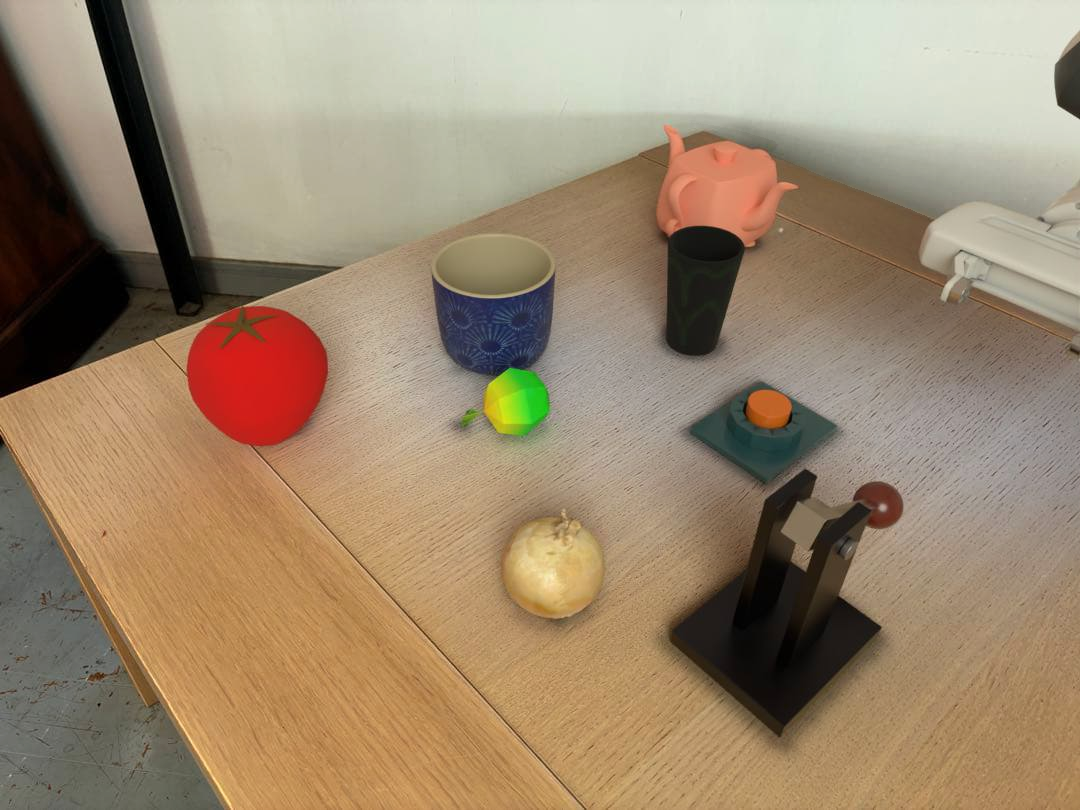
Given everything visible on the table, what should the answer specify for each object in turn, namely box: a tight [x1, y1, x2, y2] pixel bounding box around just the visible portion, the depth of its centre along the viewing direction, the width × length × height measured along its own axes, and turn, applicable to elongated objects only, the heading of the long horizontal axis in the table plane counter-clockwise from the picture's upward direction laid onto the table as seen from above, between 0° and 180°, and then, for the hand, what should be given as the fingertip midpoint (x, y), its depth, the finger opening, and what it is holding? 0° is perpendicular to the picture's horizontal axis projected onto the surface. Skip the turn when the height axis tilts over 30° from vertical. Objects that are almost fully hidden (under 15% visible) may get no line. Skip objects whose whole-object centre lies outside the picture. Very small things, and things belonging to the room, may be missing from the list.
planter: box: [430, 232, 557, 376], centre depth 86 cm, size 12×12×11 cm
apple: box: [460, 368, 551, 437], centre depth 78 cm, size 7×6×9 cm
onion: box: [500, 508, 606, 620], centre depth 63 cm, size 8×8×7 cm
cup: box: [665, 226, 746, 357], centre depth 87 cm, size 8×8×12 cm
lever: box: [780, 480, 905, 552], centre depth 58 cm, size 15×4×4 cm, turn 131°
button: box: [746, 390, 792, 429], centre depth 78 cm, size 4×4×2 cm
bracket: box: [669, 468, 883, 738], centre depth 57 cm, size 12×10×15 cm
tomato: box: [186, 304, 329, 447], centre depth 76 cm, size 12×12×13 cm
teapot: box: [655, 124, 799, 248], centre depth 104 cm, size 15×17×13 cm
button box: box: [689, 380, 838, 485], centre depth 79 cm, size 11×9×2 cm
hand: (1011, 323), depth 61 cm, fingers open, 8 cm apart
